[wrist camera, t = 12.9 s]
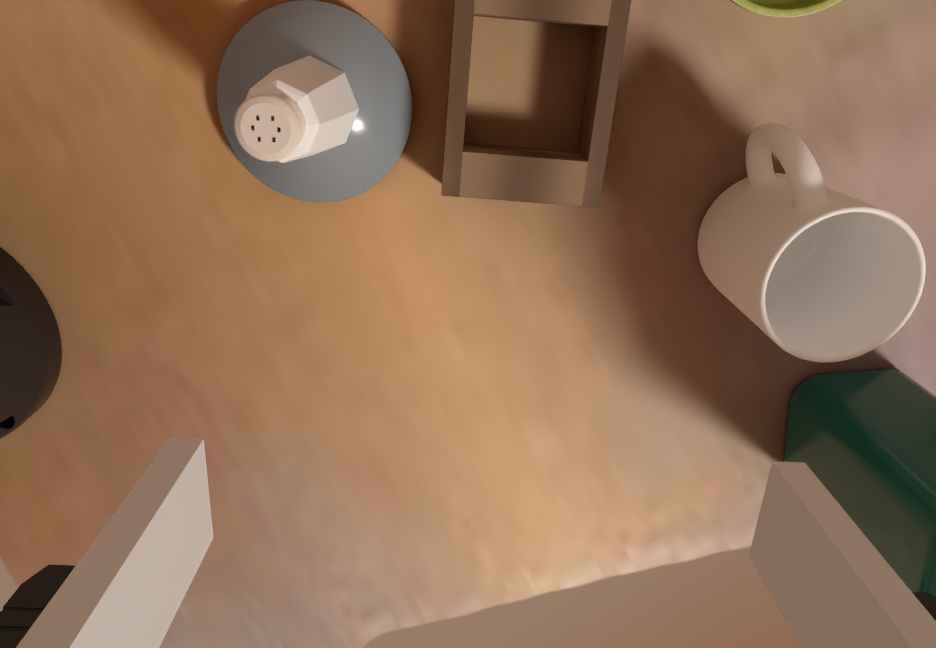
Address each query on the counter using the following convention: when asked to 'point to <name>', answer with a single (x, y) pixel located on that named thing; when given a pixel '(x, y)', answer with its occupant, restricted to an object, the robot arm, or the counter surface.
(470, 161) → the pocket block
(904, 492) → the teal bottle
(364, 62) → the grey plate
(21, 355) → the robot arm
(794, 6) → the plant pot
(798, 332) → the mug
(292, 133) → the salt shaker
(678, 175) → the counter surface
